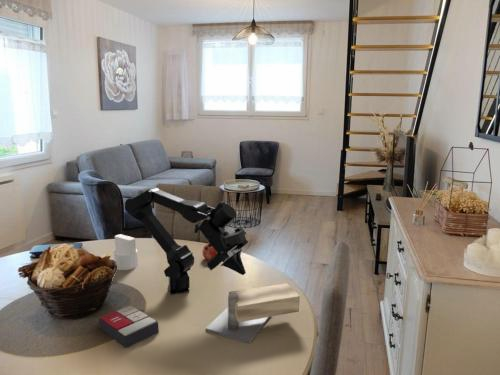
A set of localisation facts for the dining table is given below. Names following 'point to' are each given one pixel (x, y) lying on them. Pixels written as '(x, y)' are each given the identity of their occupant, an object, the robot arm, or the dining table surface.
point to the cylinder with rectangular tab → (125, 252)
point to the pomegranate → (209, 252)
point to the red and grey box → (128, 326)
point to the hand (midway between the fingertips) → (244, 274)
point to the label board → (243, 332)
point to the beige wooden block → (261, 303)
